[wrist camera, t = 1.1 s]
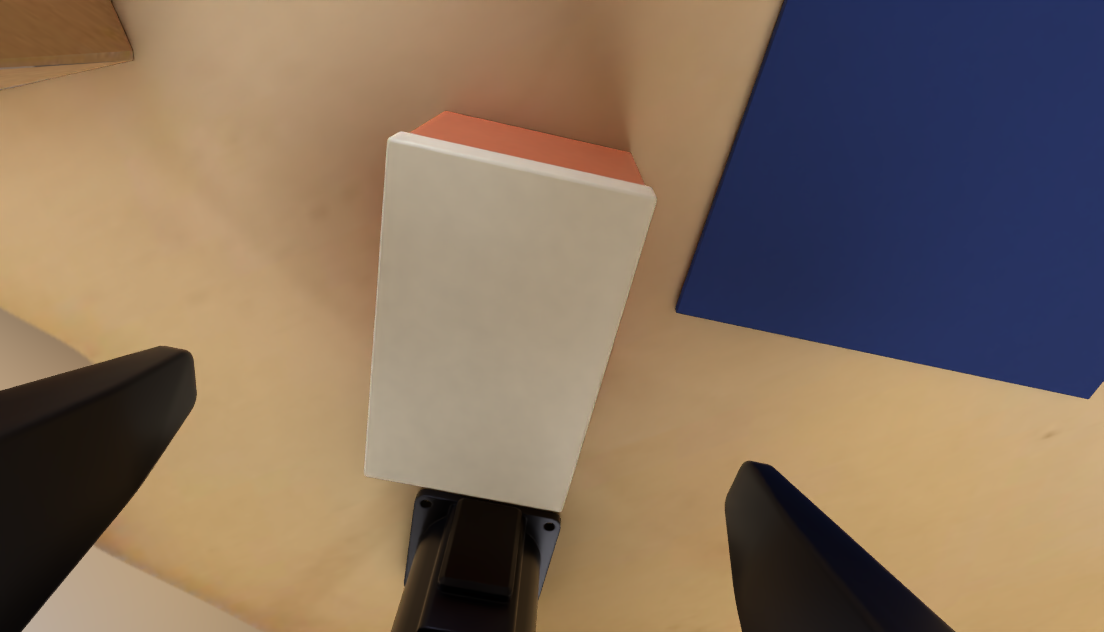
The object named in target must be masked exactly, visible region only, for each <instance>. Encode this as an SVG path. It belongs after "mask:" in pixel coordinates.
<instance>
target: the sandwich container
mask: <svg viewBox="0 0 1104 632" xmlns="http://www.w3.org/2000/svg"><path fill="white" fill-rule="evenodd" d="M132 60H133V50H132V48H131V46H130V44H129V41H128V39H127V37H126V34H125V32H124V30H123V28H122V25H121V23H120V21H119V19H118V16H117V14H116V12H115V10H114V7H113V5H112V3H111V1H110V0H0V90H2V89H7V88H13V87H18V86H23V85H27V84H31V83H35V82H39V81H43V80H47V79H51V78H56V77H60V76H65V75H69V74H74V73H78V72H83V71H87V70H92V69H96V68H101V67H105V66H110V65H114V64H119V63H123V62H128V61H132Z"/></svg>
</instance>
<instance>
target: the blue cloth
mask: <svg viewBox="0 0 1104 632" xmlns="http://www.w3.org/2000/svg"><path fill="white" fill-rule="evenodd" d="M675 310H676V313H680V314H685V315H690V316H695V317H699V318H704V319H709V320H714V321H718V322H723V323H728V324H733V325H737V326H742V327H747V328H752V329H757V330H761V331H766V332H771V333H776V334H780V335H785V336H790V337H795V338H799V339H804V340H809V341H814V342H818V343H823V344H828V345H833V346H838V347H842V348H847V349H852V350H857V351H861V352H866V353H871V354H876V355H880V356H885V357H890V358H895V359H900V360H904V361H909V362H914V363H919V364H923V365H928V366H933V367H938V368H942V369H947V370H952V371H957V372H961V373H966V374H971V375H976V376H981V377H985V378H990V379H995V380H1000V381H1004V382H1009V383H1014V384H1019V385H1023V386H1028V387H1033V388H1038V389H1043V390H1047V391H1052V392H1057V393H1062V394H1066V395H1071V396H1076V397H1081V398H1085V399H1089V398H1090V397H1091V396H1092V395H1093V393H1094V392H1095V391H1096V390H1097V388H1098V387H1099V386H1100V385H1101V384H1102V382H1103V381H1104V0H784V2H783V5H782V8H781V11H780V14H779V16H778V19H777V22H776V25H775V28H774V30H773V33H772V36H771V39H770V42H769V45H768V47H767V50H766V53H765V56H764V59H763V62H762V64H761V67H760V70H759V73H758V76H757V79H756V81H755V84H754V87H753V90H752V93H751V96H750V98H749V101H748V104H747V107H746V110H745V113H744V115H743V118H742V121H741V124H740V127H739V130H738V132H737V135H736V138H735V141H734V144H733V146H732V149H731V152H730V155H729V158H728V161H727V163H726V166H725V169H724V172H723V175H722V178H721V180H720V183H719V186H718V189H717V192H716V195H715V197H714V200H713V203H712V206H711V209H710V212H709V214H708V217H707V220H706V223H705V226H704V229H703V231H702V234H701V237H700V240H699V243H698V246H697V248H696V251H695V254H694V257H693V260H692V262H691V265H690V268H689V271H688V274H687V277H686V279H685V282H684V285H683V288H682V291H681V294H680V296H679V299H678V302H677V305H676V308H675Z"/></svg>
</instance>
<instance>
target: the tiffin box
mask: <svg viewBox="0 0 1104 632" xmlns="http://www.w3.org/2000/svg"><path fill="white" fill-rule="evenodd" d="M656 203H657V197H656V195H655V193H654V191H653V189H652V188H651V187H649V186H645V184H644V182H643V179H642V177H641V175H640V172H639V170H638V168H637V165H636V163H635V161H634V159H633V156H632V154H631V153H630V152H626V151H621V150H617V149H612V148H608V147H604V146H599V145H595V144H590V143H586V142H582V141H577V140H573V139H568V138H564V137H559V136H555V135H551V134H546V133H542V132H537V131H533V130H529V129H524V128H520V127H515V126H511V125H506V124H502V123H498V122H493V121H489V120H484V119H480V118H476V117H471V116H467V115H462V114H458V113H453V112H449V111H444V112H442V113H441V114H439V115H437V116H436V117H434V118H433V119H431V120H429V121H428V122H426V123H424V124H423V125H421V126H419V127H418V128H416V129H415V130H413V131H411V132H410V133H407V132H403V131H402V132H398V133H396V134H395V135H393V136H391V137H389V138H388V140H387V151H386V165H385V179H384V194H383V208H382V222H381V237H380V251H379V265H378V279H377V294H376V308H375V322H374V337H373V351H372V365H371V379H370V394H369V408H368V422H367V437H366V451H365V465H364V475H365V476H366V477H371V478H377V479H382V480H388V481H393V482H398V483H404V484H409V485H415V486H420V487H425V488H431V489H436V490H442V491H447V492H452V493H458V494H463V495H469V496H474V497H480V498H485V499H490V500H496V501H501V502H507V503H512V504H517V505H523V506H528V507H534V508H539V509H544V510H550V511H555V512H562V510H563V507H564V504H565V501H566V498H567V494H568V491H569V488H570V484H571V481H572V478H573V475H574V471H575V468H576V465H577V461H578V458H579V455H580V452H581V448H582V445H583V442H584V439H585V435H586V432H587V429H588V425H589V422H590V419H591V416H592V412H593V409H594V406H595V402H596V399H597V396H598V393H599V389H600V386H601V383H602V380H603V376H604V373H605V370H606V366H607V363H608V360H609V357H610V353H611V350H612V347H613V344H614V340H615V337H616V334H617V330H618V327H619V324H620V321H621V317H622V314H623V311H624V307H625V304H626V301H627V298H628V294H629V291H630V288H631V285H632V281H633V278H634V275H635V271H636V268H637V265H638V262H639V258H640V255H641V252H642V248H643V245H644V242H645V239H646V235H647V232H648V229H649V226H650V222H651V219H652V216H653V212H654V209H655V206H656Z"/></svg>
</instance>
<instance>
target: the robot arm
mask: <svg viewBox="0 0 1104 632" xmlns="http://www.w3.org/2000/svg"><path fill="white" fill-rule="evenodd" d="M196 396H197V390H196V380H195V370H194V360H193V356H192V355H191V353H190V352H188V351H187V350H183V349H178V348H173V347H168V346H158V347H154V348H151V349H147V350H144V351H140V352H136V353H133V354H129V355H126V356H122V357H119V358H115V359H112V360H108V361H105V362H101V363H97V364H94V365H90V366H87V367H83V368H80V369H77V370H73V371H69V372H65V373H62V374H58V375H55V376H51V377H48V378H44V379H41V380H37V381H34V382H30V383H26V384H23V385H19V386H16V387H13V388H9V389H5V390H2V391H0V632H22V630H23V629H24V628H25V627H26V625H27V624H28V623H29V622H30V621H31V619H32V618H33V617H34V616H35V615H36V613H37V612H38V611H39V610H40V609H41V607H42V606H43V605H44V604H45V602H46V601H47V600H48V599H49V598H50V596H51V595H52V594H53V593H54V592H55V590H56V589H57V588H58V587H59V586H60V584H61V583H62V582H63V581H64V579H65V578H66V577H67V576H68V575H69V573H70V572H71V571H72V570H73V569H74V567H75V566H76V565H77V564H78V562H79V561H80V560H81V559H82V558H83V557H84V555H85V554H86V553H87V552H88V550H89V549H90V548H91V547H92V546H93V544H94V543H95V542H96V541H97V540H98V538H99V537H100V536H101V535H102V534H103V532H104V531H105V530H106V529H107V527H108V526H109V525H110V524H111V523H112V521H113V520H114V519H115V518H116V517H117V515H118V514H119V513H120V512H121V511H122V509H123V508H124V507H125V506H126V504H127V503H128V502H129V501H130V499H131V498H132V497H133V496H134V494H135V493H136V492H137V491H138V489H139V488H140V486H141V485H142V484H143V482H144V481H145V479H146V478H147V476H148V475H149V473H150V472H151V470H152V469H153V467H154V466H155V464H156V463H157V461H158V460H159V458H160V457H161V455H162V454H163V452H164V451H165V449H166V448H167V446H168V445H169V443H170V442H171V440H172V439H173V437H174V436H175V434H176V433H177V431H178V430H179V428H180V427H181V425H182V424H183V422H184V421H185V419H186V418H187V416H188V415H189V413H190V412H191V410H192V408H193V406H194V404H195V401H196ZM425 500H428V501H425ZM725 516H726V525H727V534H728V543H729V552H730V561H731V570H732V579H733V587H734V594H735V600H736V605H737V610H738V615H739V620H740V624H741V629H742V632H955V631H954V630H953V629H952V628H951V627H949V626H948V625H947V624H946V623H945V622H944V621H943V620H942V619H941V618H939V617H938V616H937V615H936V614H935V613H934V612H933V611H932V610H931V609H930V608H928V607H927V606H926V605H925V604H924V603H923V602H922V601H921V600H920V599H918V598H917V597H916V596H915V595H914V594H913V593H912V592H911V591H910V590H909V589H907V588H906V587H905V586H904V585H903V584H902V583H901V582H900V581H899V580H897V579H896V578H895V577H894V576H893V575H892V574H891V573H890V572H889V571H887V570H886V569H885V568H884V567H883V566H882V565H881V564H880V563H879V562H878V561H876V560H875V559H874V558H873V557H872V556H871V555H870V554H869V553H868V552H866V551H865V550H864V549H863V548H862V547H861V546H860V545H859V544H858V543H857V542H855V541H854V540H853V539H852V538H851V537H850V536H849V535H848V534H847V533H845V532H844V531H843V530H842V529H841V528H840V527H839V526H838V525H837V524H836V523H834V522H833V521H832V520H831V519H830V518H829V517H828V516H827V515H826V514H824V513H823V512H822V511H821V510H820V509H819V508H818V507H817V506H816V505H814V504H813V503H812V502H811V501H810V500H809V499H808V498H807V497H806V496H805V495H803V494H802V493H801V492H800V491H799V490H798V489H797V488H796V487H795V486H793V485H792V484H791V483H790V482H789V481H788V480H787V479H786V478H785V477H784V476H782V475H781V474H780V473H779V472H778V471H777V470H776V469H775V468H774V467H772V466H771V465H768V464H764V463H759V462H754V461H746V462H744V463H743V464H742V466H741V467H740V469H739V471H738V473H737V476H736V478H735V480H734V482H733V484H732V486H731V488H730V490H729V492H728V494H727V497H726V501H725ZM548 523H552V524H548ZM560 525H561V518H560V516H559V515H558V514H556V513H554V512H550V511H545V510H539V509H534V508H529V507H523V506H518V505H512V504H507V503H502V502H496V501H491V500H485V499H480V498H475V497H469V496H464V495H458V494H453V493H448V492H442V491H437V490H431V489H423V490H420V491H419V492H418V494H417V496H416V499H415V503H414V510H413V518H412V525H411V533H410V541H409V548H408V556H407V564H406V571H405V579H404V586H405V588H404V591H403V594H402V598H401V601H400V604H399V607H398V611H397V614H396V617H395V620H394V624H393V627H392V630H391V632H536V619H537V604H538V600H539V596H540V593H541V590H542V587H543V583H544V580H545V577H546V574H547V570H548V567H549V564H550V561H551V558H552V554H553V551H554V548H555V545H556V541H557V538H558V535H559V532H560Z"/></svg>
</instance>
